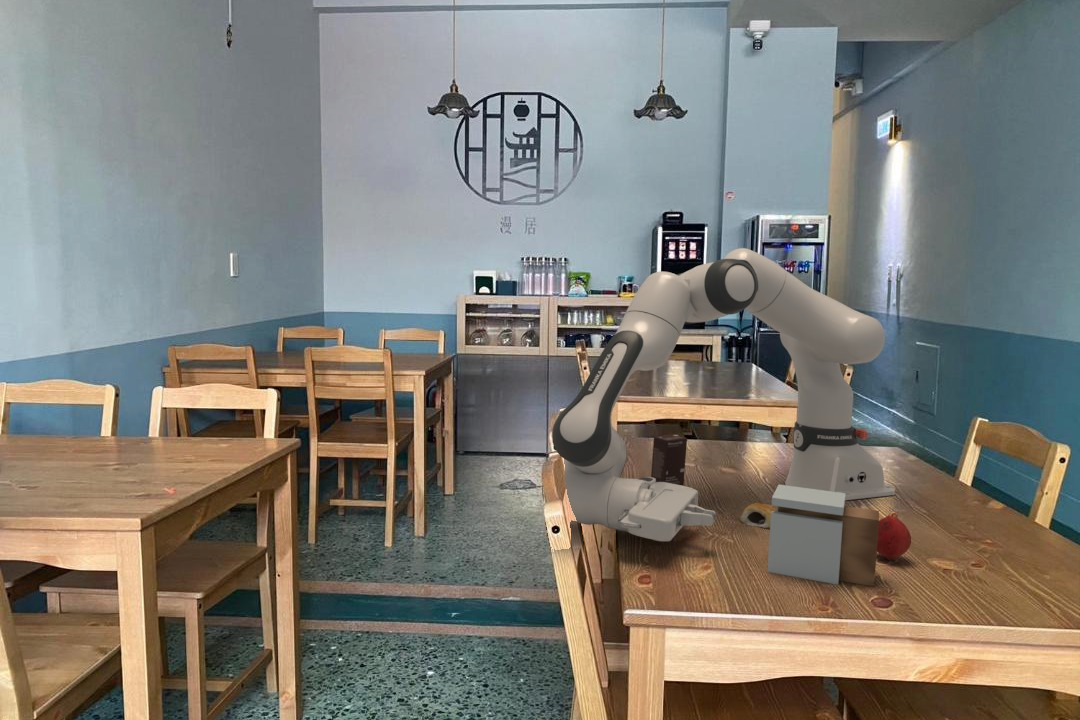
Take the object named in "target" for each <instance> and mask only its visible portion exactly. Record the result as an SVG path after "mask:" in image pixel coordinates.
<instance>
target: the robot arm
mask: <svg viewBox="0 0 1080 720" xmlns="http://www.w3.org/2000/svg"><path fill="white" fill-rule="evenodd" d="M743 310H746V311H747V312H748V313H750V314H752V315H753V316H754V317H755V318H757V319H759V320H760V321H762V322H763V323H764V324H765V325H768V327H770V328H771V329H773V330H774V331H777V332H778V333H779V338H780V342H781V344H782V346H783V347H784V348H785V350H786V351H787V352H788V354H789V357H790V358H791V361H792V364H793V369H794V372H795V378H796V382H797V410H796V411H797V415H796V417H797V418H796V421H795V422H794V425H793V426H794V429H793V447H794V448H793V454H792V458H791V464H790V467H789V471H788V474H787V477H786V480H785V483H784V485H786V486H794V487H801V488H809V489H816V490H824V491H832V492H839V493H846V496H845V501H850V500H860V499H861V500H862V499H867V498H870V499H871V498H876V497H877V498H878V497H887V496H895V495H896V490H895V488H894V487H893V486H892V485H890V484H888V483H886V482H885V477H884V469H883V466H882V464H881V462H880V461H879V460H878V459H877V458H876V457H874V456H873V455H872V454H871V453H869V452H868V451H867V450H865V449H864V448H863V446H861V445H860V444H859V442H858V439H861V440H867V438H869V431H867V430H865V429H862V428H857V429H856V428H855V427H854V426H853V425H852V421H853V409H854V407H853V406H854V405H853V404H854V391H853V388H852V387H851V385H850V384H849V382H847V380H846V379H845V376H844V375H843V372H842V370H841V365H840V364H843V365H858V364H859V365H860V364H867V363H870V362H873V360H876V359H877V358H878V357H879V356H880V355H881V353H882V351H883V349H884V346H885V340H886V335H885V329H884V327H883V326H882V323H881V322H880V321H879V320H878V319H877V318H875V317H872V316H870V315H868V314H865V313H862V312H860V311H857V310H856V309H853V308H851V307H849V306H847V305H845V304H844V303H843V302H839V300H836V299H834V298H832V297H830V296H828V295H825V294H824V293H821V292H819V291H818V290H815V289H813V288H812V287H810V286H808V285H807V284H806V283H804V282H802V281H801V280H800V279H799V278H797V277H796V276H795V275H793V274H792V273H790V272H789V271H787V270H786V269H785V268H783V267H782V266H780V265H779V264H777V263H776V262H775V261H773V260H771V259H770V258H768V257H766V256H765V255H763V254H760V252H759V253H758V252H756V251H754V250H751V249H749V248H746V247H740V248H739V247H738V248H736V249H734V250H731V251H730V252H728V253H727V254H726V255H725V256H724V257H723V258H722V259H718V260H716V261H712V262H708V263H707V262H706V263H703V264H700V265H697V266H695V267H693V268H691V269H689V270H687V271H685V272H682V273H678V274H675V273H672V272H669V271H663V270H662V271H657V272H654V273H651V274H650V275H649V276H647V277H646V278H645V280H644V281H643V282H642V284H641V285H640V287H639V288H638V290H637V291H636V293H635V294H634V296H633V298H632V300H631V301H630V303H629V305H628V307H627V309H626V311H625V313H624V316H623V317H622V320H621V322H620V324H619V327H617V328H618V329H617V330H616V333H615V334H614V335H613V336H612V337H611V338H610V340H609V341H608V342H607V344H606V345H605V347H604V349H603V350H602V351H601V353H600V355H599V357H598V358H597V360H596V362H595V364H594V366H593V368H592V369H591V371H590V372H589V375H588V376H587V378H586V380H585V382H584V384H583V386H582V388H581V389H580V391H579V393H578V394H577V396H576V397H575V398H574V399H573V400H572V401H571V402H570V403H569V405H568V406H566V407H565V409H563V411H562V412H560V414H559V415H558V417H557V418H556V420H555V421H554V424H553V427H552V430H551V432H552V433H551V439H552V445H553V447H554V450H555V451H556V453H557V454H558V455H559V456H560V457H561V458H562V459H563V458H564V464H565V482H566V489H567V495H568V498H569V502H570V505H571V508H572V511H573V513H574V515H575V517H576V520H577V522H576V523H577V524H578V523H579V524H582V525H590V526H591V525H601V526H604V527H606V528H608V529H610V530H617V531H621V532H628V533H629V534H631V535H634V536H637V537H641V538H644V539H649V540H653V541H657V542H670V541H672V540H673V538H675V536H676V535H677V534H678V532H680V530H681V529H682V528H683V526H686V527H693V526H694V527H695V526H704V527H705V526H706V527H711V526H712V525H713V524H714V523H715V522H716V521H717V520H716V519H717V513H716V512H715V510H710V509H705V508H703V507H701V506H699V504H698V503H699V491H698V490H696V489H694V488H692V487H690V486H685V485H684V486H682V485H677V484H672V483H667V482H656V479H655V478H652V477H651V476H645V477H640V478H626V477H622V474H623V471H624V469H625V466H626V463H627V459H628V449H627V445H626V443H625V441H624V439H623V438H622V436H621V435H620V434H619V432H618V431H617V430H616V428H614V427H613V423H612V414H613V410H614V408H615V406H616V404H617V402H618V400H619V398H620V397H621V394H622V392H623V390H624V388H625V387H626V384H627V382H628V381H629V379H630V377H631V376H632V374H633V373H635V372H636V371H637V370H638V371H644V372H645V371H654V370H657V369H659V368H661V367H662V366H664V365H665V364H666V362H667V361H668V360H669V358H670V357H671V355H672V354H673V352H674V350H675V347H676V345H677V342H678V341H679V338H680V336H681V334H682V331H683V327H684V325H693V324H696V323H705V322H711V321H715V320H718V319H720V318H724V317H726V316H729V315H735V314H738V313H740V312H741V311H743ZM541 486H542V485H541ZM541 493H542V500H543V501H544V494H543V486H542V487H541Z"/></svg>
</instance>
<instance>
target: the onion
mask: <svg viewBox="0 0 1080 720" xmlns="http://www.w3.org/2000/svg"><path fill="white" fill-rule="evenodd" d="M898 517H899V514H898V513H897V512H896V511H892V512H891V511H890V513H889V514H887V515H886V517H883V518H881V519H879V529H878V542H877V554H879V555H880V556H882V557H883V558H884V559H885V560H887V561H894V560H896V559H897V558H898V557H901V556H902V555H904V554H905V553H907V552H908V550H909V549H910V547H911V544H912V537H911V533H910V531H909V529H908V527H907V526H906V524H904V522H903V521H902V520H900V519H899V518H898Z"/></svg>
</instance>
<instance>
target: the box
mask: <svg viewBox="0 0 1080 720" xmlns="http://www.w3.org/2000/svg"><path fill="white" fill-rule="evenodd" d="M687 443H688V438H687V437H685V436H681V435H678V434H675V433H673V434H671V433H670V434H663V435H657V436H656V435H655V436H653V444H652V456H651V457H652V458H651V474H650V475H651V476H650V477H652V478H655V479H656V482H667V483H672V484H677V485H682V486H685V484H684V483H685V471H686V468H685V467H686V459H687V457H686V456H687V445H688V444H687Z"/></svg>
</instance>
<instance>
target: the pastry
mask: <svg viewBox="0 0 1080 720" xmlns="http://www.w3.org/2000/svg"><path fill="white" fill-rule="evenodd" d="M772 511H776V506H773V505H772V504H769V503H762V502H756V503H750V505H747V506H746V507H745V508H744V509H743V511H742V515H740V516H739V520H740V522H741V523H742V524H745V525H749V526H751V527H752V526H753V527H758V528H762V529H770V523H771V512H772Z"/></svg>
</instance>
